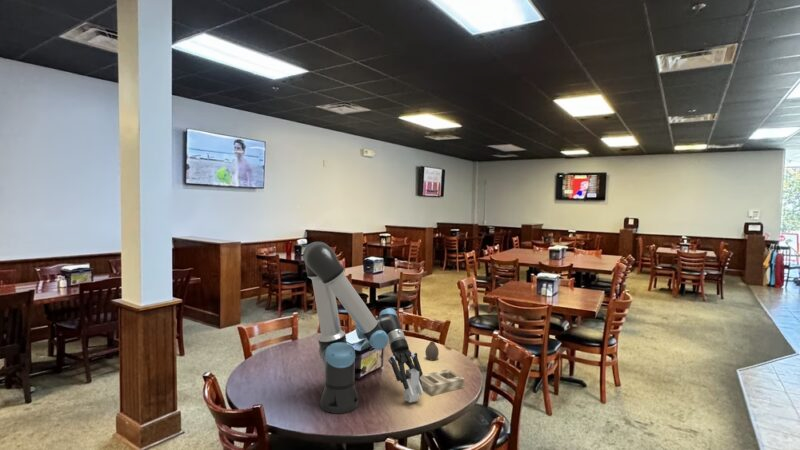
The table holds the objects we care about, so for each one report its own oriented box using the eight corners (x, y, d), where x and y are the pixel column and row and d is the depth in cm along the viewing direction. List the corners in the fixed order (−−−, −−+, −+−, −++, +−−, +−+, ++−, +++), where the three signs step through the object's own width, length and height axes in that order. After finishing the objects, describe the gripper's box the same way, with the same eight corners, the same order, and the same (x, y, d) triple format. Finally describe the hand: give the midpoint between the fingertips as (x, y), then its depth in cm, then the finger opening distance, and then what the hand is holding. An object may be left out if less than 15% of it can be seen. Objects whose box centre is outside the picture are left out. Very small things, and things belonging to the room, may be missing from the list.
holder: (430, 395, 180) (431, 386, 180) (415, 385, 191) (415, 376, 190) (464, 387, 190) (464, 378, 189) (447, 377, 200) (448, 369, 200)
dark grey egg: (427, 361, 219) (428, 345, 218) (423, 356, 226) (423, 340, 225) (440, 360, 221) (440, 344, 220) (435, 356, 227) (436, 339, 227)
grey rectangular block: (409, 402, 171) (411, 373, 171) (404, 398, 175) (405, 369, 174) (417, 400, 174) (419, 371, 173) (412, 396, 177) (414, 368, 176)
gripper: (383, 340, 177) (402, 395, 164) (417, 335, 186) (438, 387, 173) (377, 348, 182) (394, 403, 169) (410, 343, 191) (429, 395, 178)
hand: (416, 395), depth 171 cm, fingers closed on grey rectangular block, 4 cm apart
